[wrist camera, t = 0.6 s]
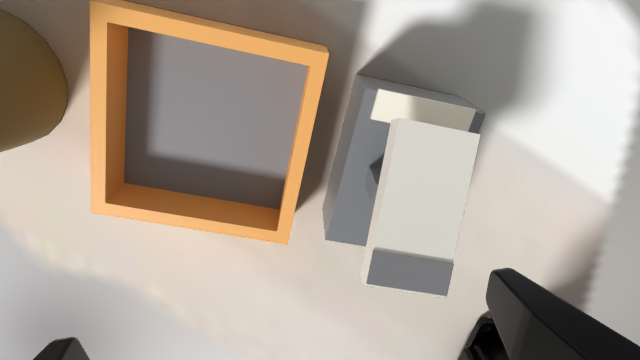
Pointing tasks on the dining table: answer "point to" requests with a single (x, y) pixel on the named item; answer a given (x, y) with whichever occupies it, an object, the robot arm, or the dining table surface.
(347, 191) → the breaker box
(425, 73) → the dining table surface
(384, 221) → the breaker rocker
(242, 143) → the orange square tray
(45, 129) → the olive vase
